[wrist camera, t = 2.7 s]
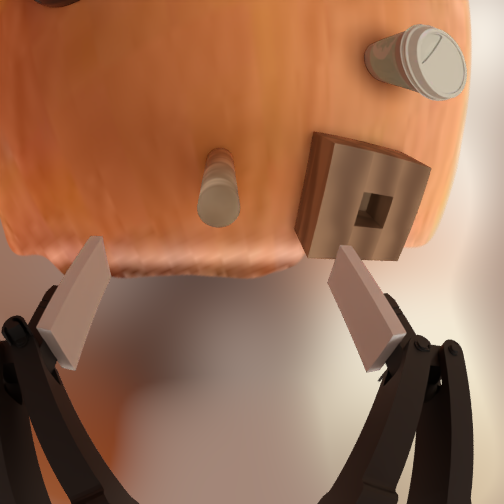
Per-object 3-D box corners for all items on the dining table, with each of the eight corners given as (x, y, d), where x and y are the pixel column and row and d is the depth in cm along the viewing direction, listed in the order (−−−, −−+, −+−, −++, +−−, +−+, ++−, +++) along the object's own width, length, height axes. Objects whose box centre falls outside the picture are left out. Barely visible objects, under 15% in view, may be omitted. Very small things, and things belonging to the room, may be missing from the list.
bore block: (294, 229, 38) (307, 258, 32) (313, 131, 30) (335, 143, 25) (376, 235, 40) (397, 261, 34) (401, 152, 32) (431, 168, 27)
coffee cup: (396, 30, 22) (456, 24, 12) (414, 86, 27) (476, 98, 17) (344, 37, 23) (399, 23, 13) (366, 97, 28) (426, 109, 18)
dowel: (206, 172, 32) (196, 226, 21) (207, 147, 30) (197, 187, 19) (231, 173, 33) (238, 228, 21) (234, 148, 31) (242, 189, 19)
